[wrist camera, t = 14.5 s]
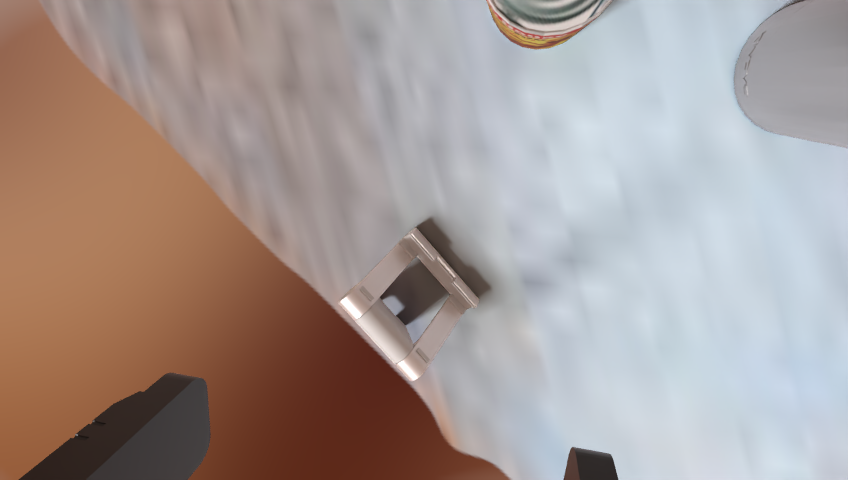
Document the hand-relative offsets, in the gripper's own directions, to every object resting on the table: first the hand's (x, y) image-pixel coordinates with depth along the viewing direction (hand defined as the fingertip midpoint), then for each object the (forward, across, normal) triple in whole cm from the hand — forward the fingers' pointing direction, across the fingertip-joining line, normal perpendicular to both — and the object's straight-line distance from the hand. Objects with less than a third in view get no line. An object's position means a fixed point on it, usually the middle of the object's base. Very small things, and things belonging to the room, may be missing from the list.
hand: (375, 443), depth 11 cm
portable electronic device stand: (+33, +5, +11) cm, 35 cm away
